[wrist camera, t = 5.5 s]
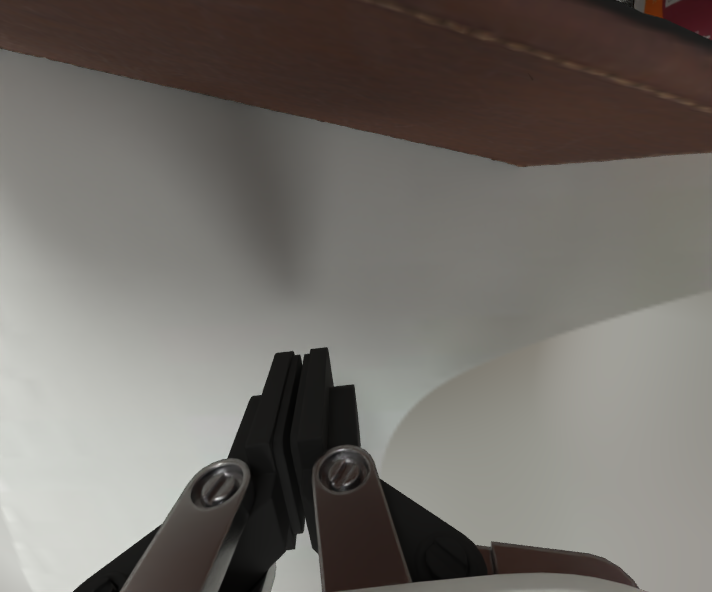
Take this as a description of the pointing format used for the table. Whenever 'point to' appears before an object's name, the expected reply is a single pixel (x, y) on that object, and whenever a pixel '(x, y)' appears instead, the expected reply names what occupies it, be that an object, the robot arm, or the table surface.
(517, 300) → the table surface
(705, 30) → the pill bottle
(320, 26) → the letter holder
